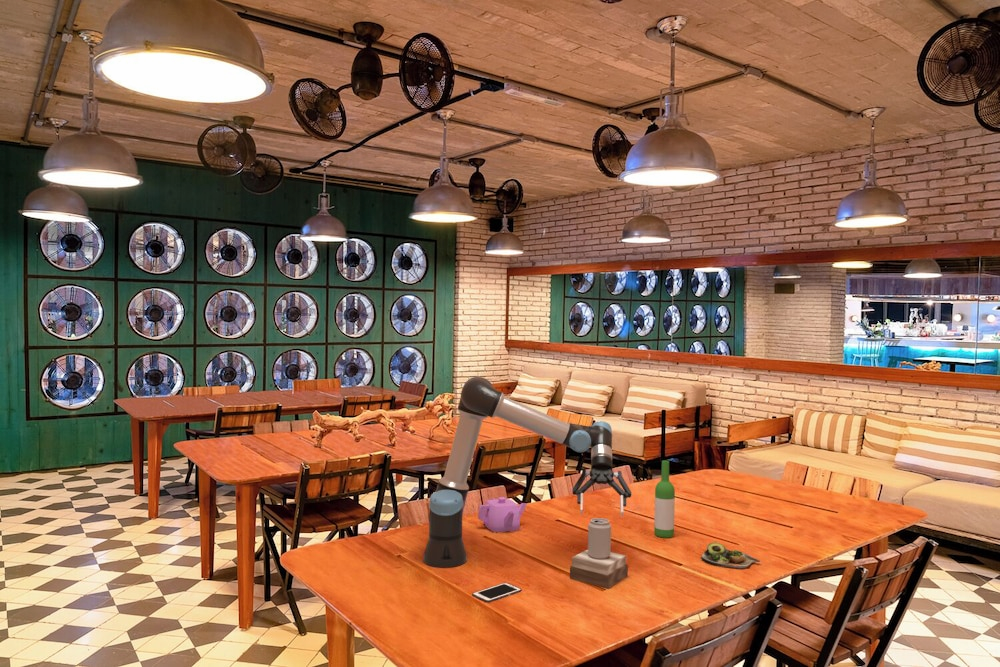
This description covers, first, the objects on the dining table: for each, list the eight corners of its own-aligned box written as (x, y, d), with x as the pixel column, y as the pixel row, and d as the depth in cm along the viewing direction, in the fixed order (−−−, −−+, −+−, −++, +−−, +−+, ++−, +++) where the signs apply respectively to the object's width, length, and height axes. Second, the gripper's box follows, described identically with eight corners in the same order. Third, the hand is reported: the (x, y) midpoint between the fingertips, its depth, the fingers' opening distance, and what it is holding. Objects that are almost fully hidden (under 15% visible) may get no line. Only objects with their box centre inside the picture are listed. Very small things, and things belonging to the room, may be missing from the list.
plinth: (607, 588, 214) (608, 566, 214) (569, 578, 223) (570, 557, 223) (627, 576, 226) (628, 555, 226) (590, 567, 234) (591, 546, 234)
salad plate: (763, 559, 246) (764, 546, 246) (755, 574, 231) (755, 560, 231) (709, 550, 256) (709, 537, 256) (697, 563, 241) (698, 550, 240)
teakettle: (491, 519, 290) (491, 491, 290) (528, 525, 284) (528, 495, 284) (473, 530, 275) (474, 500, 275) (512, 536, 268) (513, 505, 268)
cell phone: (470, 596, 207) (470, 593, 207) (506, 585, 217) (506, 582, 217) (487, 604, 202) (487, 601, 202) (522, 592, 211) (523, 589, 211)
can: (595, 550, 230) (595, 515, 230) (614, 555, 225) (615, 519, 225) (583, 556, 224) (584, 520, 224) (603, 561, 219) (603, 524, 219)
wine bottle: (672, 533, 275) (673, 459, 275) (675, 539, 268) (676, 463, 268) (652, 532, 276) (654, 458, 276) (655, 538, 268) (656, 462, 268)
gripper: (636, 467, 246) (638, 520, 231) (567, 464, 249) (564, 516, 234) (637, 455, 241) (639, 509, 226) (567, 452, 244) (564, 505, 229)
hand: (601, 513), depth 230 cm, fingers open, 13 cm apart
